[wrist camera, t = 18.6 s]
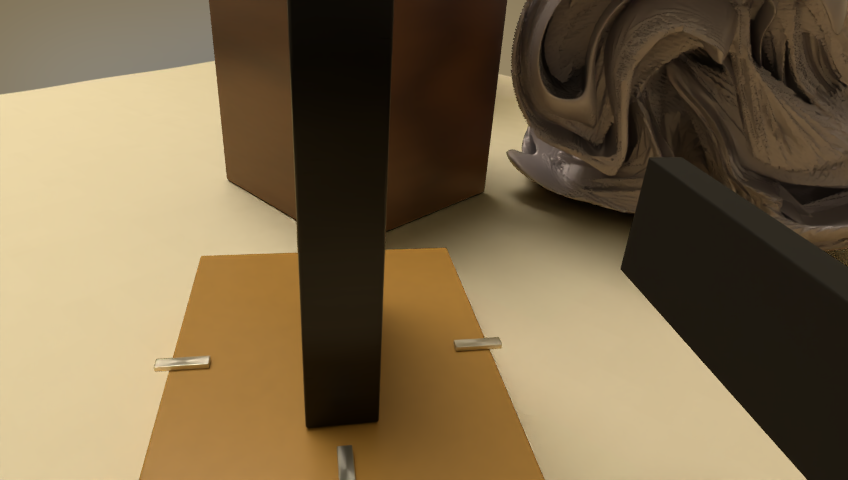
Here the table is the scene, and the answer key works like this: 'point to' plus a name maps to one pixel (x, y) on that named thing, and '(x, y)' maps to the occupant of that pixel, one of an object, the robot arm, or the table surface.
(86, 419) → the table surface
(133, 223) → the table surface
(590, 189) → the grey shiny folded piece
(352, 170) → the bar
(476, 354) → the light wooden block
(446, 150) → the walnut box
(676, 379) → the table surface
